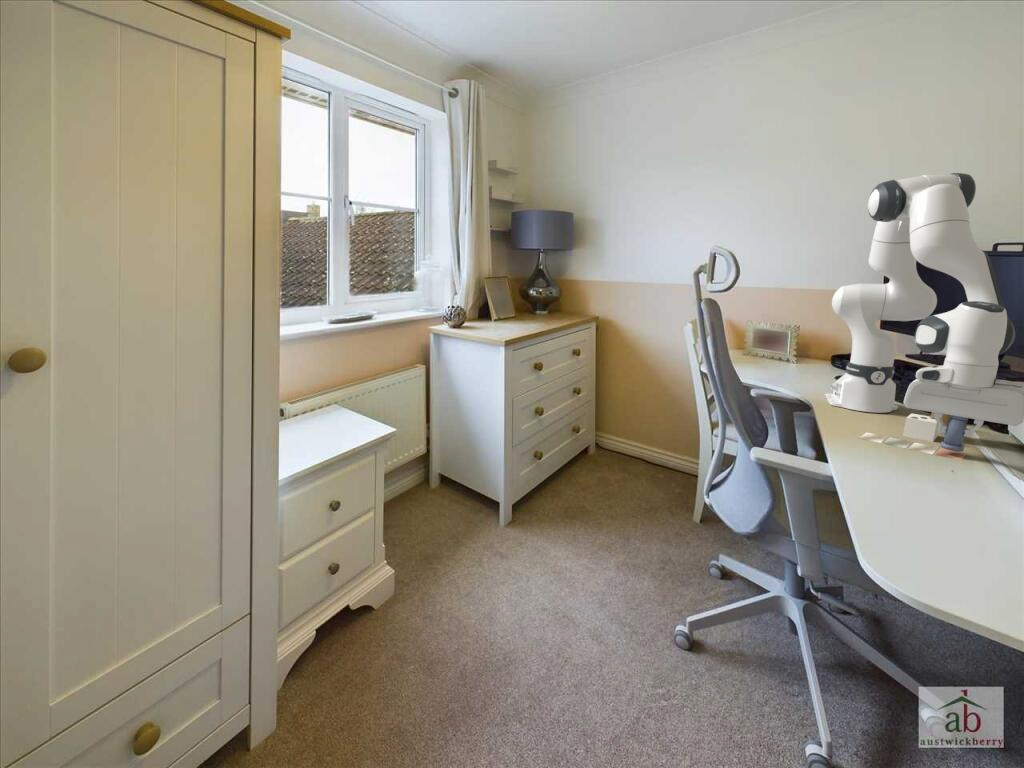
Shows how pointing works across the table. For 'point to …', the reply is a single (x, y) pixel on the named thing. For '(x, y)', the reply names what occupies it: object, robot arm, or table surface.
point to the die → (921, 427)
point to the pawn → (955, 433)
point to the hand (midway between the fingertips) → (954, 434)
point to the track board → (914, 446)
